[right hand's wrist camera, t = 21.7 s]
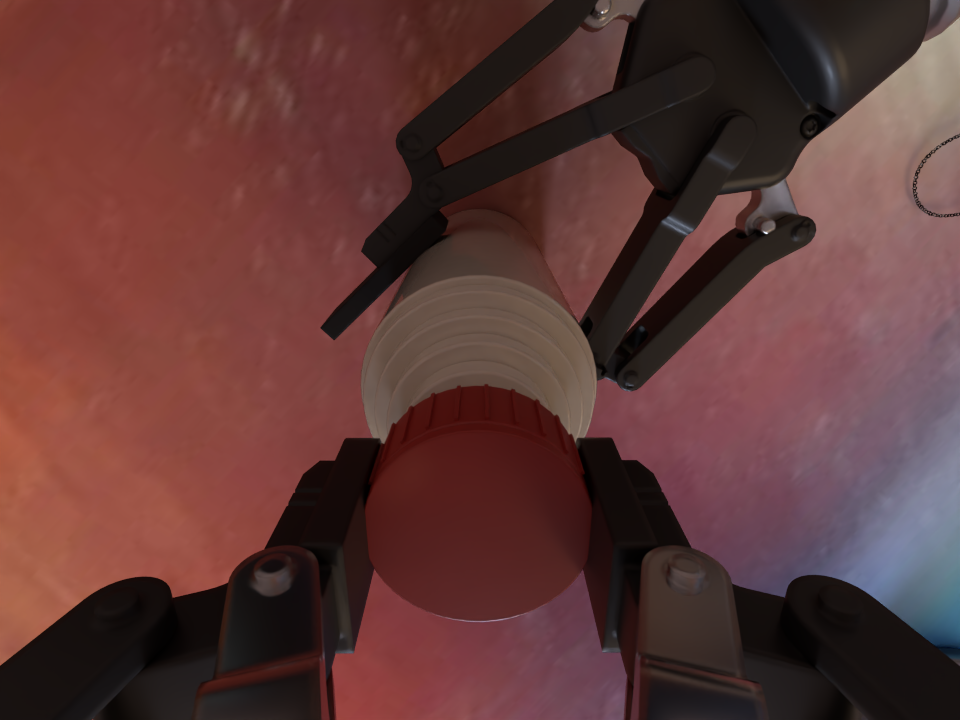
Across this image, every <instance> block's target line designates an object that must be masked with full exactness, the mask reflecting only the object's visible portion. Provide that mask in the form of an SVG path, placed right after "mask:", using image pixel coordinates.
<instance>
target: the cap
mask: <svg viewBox="0 0 960 720" xmlns="http://www.w3.org/2000/svg"><path fill="white" fill-rule="evenodd" d="M583 474H585V472H584V469H583V466H582V463H581V460H580V456H579V453H578V450H577V447H576V443H575V440H574V437H573V435H572V434H569V433H568V432H567V430H566V429H565V427H564V426H563V425H562V423H561V421H560V418H559V416H558V415H557V414H556V415H555V416H554V415H553V414H552V413H551V412H550V411H549V410H548V409H546V408H545V407H544V406H543V405H541V404H540V401H539V400H537V399H536V400H533V399H531V398H529V397H527V396H525V395H522V394H520V393H518V392H516V391H515V389H511V390H507V389H504V388H498V387H492V386H488V384H484V386H467V387H461V385H459V386H457V388H454V389H450V390H446V391H443V392H440V393H437V394H435V393H432V394H431V396H430V397H429V398H427V399H425V400H423V401H421V402H420V403H418V404H417V405H415V406H414V407H413V406H412V405H411V406H410V407H409V408H408V411H407V412H406V413H405V414H404V415H403V416H402V417H401V418H400V419H399V420H398V422H397V423H396V424H395V423H393V424H392V425H391V428H390V431H389V434H388V436H387V438H386V441H385V443H384V444H383V443H381V445H380V448H379V451H378V454H377V457H376V460H375V463H374V466H373V470H372V473H371V476H370V479H369V482H368V484H369V485H371V486H370V490H369V492H368V496H367V499H366V503H365V518H366V530H367V541H368V552H369V559H370V561H371V563H372V565H373V567H374V569H375V570H376V572H377V573H378V575H379V576H380V577H381V579H382V580H383V581H384V582H385V583H386V584H387V585H388V586H389V587H390V588H391V589H392V590H393V591H394V592H395V593H396V594H398V595H399V596H400V597H401V598H403V599H404V600H406V601H407V602H409V603H411V604H412V605H414V606H416V607H418V608H420V609H422V610H424V611H426V612H429V613H432V614H435V615H438V616H440V617H445V618H449V619H453V620H461V621H471V622H486V621H498V620H503V619H509V618H513V617H516V616H520V615H523V614H526V613H528V612H531V611H533V610H536V609H538V608H540V607H542V606H543V605H545V604H547V603H549V602H550V601H552V600H553V599H555V598H556V597H557V596H559V595H560V594H561V593H562V592H563V591H565V590H566V589H567V588H568V587H569V586H570V585H571V584H572V583H573V581H574V580H575V579H576V578H577V577H578V575H579V574H580V572H581V571H582V569H583V568H584V566H585V564H586V562H587V560H588V552H589V540H590V529H591V517H592V501H591V498H590V495H589V491H588V488H587V485H586V482H585V478H584V475H583Z"/></svg>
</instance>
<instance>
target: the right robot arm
mask: <svg viewBox="0 0 960 720" xmlns="http://www.w3.org/2000/svg"><path fill="white" fill-rule="evenodd" d="M380 445H381V439H380V438H346V439H345V440H344V442H343V444H342V446H341V449H340V451H339V453H338V455H337V458H336V460H335V461H319V462H318V463H317V464H315V465H314V466H313V467H312V468H310V469H309V470H308V471H307V472H305V473H304V474H303V476H302V478H301V480H300V482H299V483H298V485H297V487H296V489H295V493H293V495H292V497H291V499H290V501H289V504H288V506H287V507H286V508H285V510H284V512H283V514H282V516H281V518H280V520H279V522H278V524H277V526H276V528H275V530H274V532H273V533H272V535H271V537H270V539H269V541H268V543H267V545H266V547H265V549H264V550H262V551H259V552H257V553H255V554H253V555H251V556H250V557H248V558H246V559H245V560H244V561H242V562H241V563H240V564H239V565H238V566H237V567H236V568H235V570H234V571H233V572H232V574H231V576H230V578H229V582H228V583H226V584H224V585H221V586H219V587H216V588H212V589H209V590H205V591H200V592H196V593H192V594H188V595H183V596H179V597H175V598H173V597H172V593H171V590H170V587H169V586H168V585H167V583H166V582H164V581H163V580H160V579H158V578H154V577H134V578H129V579H125V580H121V581H118V582H115V583H113V584H110V585H108V586H106V587H104V588H101V589H100V590H98V591H96V592H94V593H93V594H91V595H90V596H88V597H87V598H86V599H84V600H83V601H82V602H80V603H79V604H78V605H77V606H75V607H74V608H73V609H72V610H70V611H69V612H68V613H66V614H65V615H64V616H63V617H61V618H60V619H59V620H58V621H56V622H55V623H54V624H53V625H51V626H50V627H49V628H47V629H46V630H45V631H44V632H42V633H41V634H40V635H39V636H37V637H36V638H35V639H34V640H32V641H31V642H30V643H28V644H27V645H26V646H25V647H23V648H22V649H21V650H20V651H18V652H17V653H16V654H15V655H13V656H12V657H11V658H9V659H8V660H7V661H6V662H4V663H3V664H2V665H1V666H0V720H92V719H93V720H336V706H335V690H334V680H333V673H332V664H333V661H334V657H335V654H336V653H354V649H355V645H356V641H357V637H358V633H359V629H360V625H361V621H362V617H363V612H364V608H365V604H366V600H367V596H368V592H369V588H370V584H371V580H372V575H373V571H374V567H373V565H372V563H371V561H370V559H369V552H368V541H367V530H366V518H365V503H366V499H367V496H368V492H369V490H370V486H371V485H369V484H368V482H369V479H370V476H371V473H372V470H373V466H374V463H375V460H376V457H377V454H378V451H379V448H380ZM576 447H577V450H578V453H579V456H580V460H581V463H582V466H583V469H584V472H585V474H583V475H584V478H585V482H586V485H587V488H588V491H589V495H590V498H591V501H592V517H591V529H590V540H589V552H588V560H587V562H586V564H585V566H584V568H583V571H584V575H585V579H586V584H587V588H588V592H589V596H590V600H591V605H592V609H593V613H594V617H595V622H596V626H597V630H598V634H599V639H600V643H601V647H602V651H603V652H621V656H622V660H623V663H624V667H625V671H626V674H627V680H626V690H625V706H624V720H861V718H862V715H864V716H865V717H866V718H867V719H868V720H960V666H959V665H958V664H957V663H956V662H954V661H953V660H952V659H951V658H949V657H948V656H947V655H945V654H944V653H943V652H942V651H940V650H939V649H938V648H937V647H935V646H934V645H933V644H932V643H930V642H929V641H928V640H926V639H925V638H924V637H923V636H921V635H920V634H919V633H918V632H916V631H915V630H914V629H913V628H911V627H910V626H909V625H907V624H906V623H905V622H904V621H902V620H901V619H900V618H899V617H897V616H896V615H895V614H894V613H892V612H891V611H890V610H888V609H887V608H886V607H885V606H883V605H882V604H881V603H880V602H878V601H877V600H876V599H875V598H873V597H872V596H870V595H869V594H868V593H866V592H865V591H863V590H861V589H860V588H858V587H856V586H854V585H852V584H850V583H847V582H844V581H842V580H839V579H836V578H832V577H827V576H821V575H807V576H801V577H799V578H796V579H795V580H793V581H792V582H791V583H790V584H789V586H788V588H787V592H786V596H785V598H784V597H780V596H776V595H772V594H767V593H763V592H759V591H754V590H750V589H746V588H743V587H739V586H737V585H734V584H732V582H731V578H730V576H729V574H728V572H727V571H726V570H725V568H724V567H723V566H722V565H721V564H720V563H719V562H718V561H716V560H715V559H714V558H712V557H710V556H709V555H707V554H705V553H703V552H701V551H698V550H696V549H693V548H691V546H690V544H689V542H688V540H687V538H686V536H685V534H684V532H683V530H682V528H681V526H680V524H679V522H678V521H677V519H676V517H675V515H674V513H673V511H672V509H671V507H670V506H668V501H667V499H666V497H665V495H664V493H663V492H662V491H661V487H660V485H659V483H658V481H657V479H656V478H655V476H654V474H653V473H652V472H651V471H650V470H648V469H647V468H646V467H645V466H643V465H642V464H641V463H640V462H638V461H637V460H621V457H620V455H619V453H618V450H617V448H616V446H615V444H614V441H613V439H612V438H577V439H576Z"/></svg>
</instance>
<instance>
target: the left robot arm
mask: <svg viewBox="0 0 960 720" xmlns="http://www.w3.org/2000/svg"><path fill="white" fill-rule="evenodd" d="M959 17H960V0H554V1H553V2H552V3H550V4H549V5H548V6H547V7H546V8H545V9H543V10H542V11H541V12H540V13H539V14H537V15H536V16H535V17H534V18H533V19H531V20H530V21H529V22H528V23H527V24H526V25H524V26H523V27H522V28H521V29H520V30H518V31H517V32H516V33H515V34H514V35H513V36H511V37H510V38H509V39H508V40H507V41H505V42H504V43H503V44H502V45H501V46H499V47H498V48H497V49H496V50H495V51H494V52H492V53H491V54H490V55H489V56H488V57H486V58H485V59H484V60H483V61H482V62H481V63H479V64H478V65H477V66H476V67H475V68H473V69H472V70H471V71H470V72H469V73H467V74H466V75H465V76H464V77H463V78H462V79H460V80H459V81H458V82H457V83H456V84H454V85H453V86H452V87H451V88H450V89H448V90H447V91H446V92H445V93H444V94H443V95H441V96H440V97H439V98H438V99H437V100H435V101H434V102H433V103H432V104H431V105H430V106H428V107H427V108H426V109H425V110H424V111H422V112H421V113H420V114H419V115H418V116H416V117H415V118H414V119H413V120H412V121H411V122H409V123H408V124H407V125H406V126H405V127H403V128H402V129H401V130H400V132H399V133H398V135H397V138H396V147H397V149H398V151H399V153H400V154H401V155H402V157H403V159H404V161H405V163H406V166H407V168H408V170H409V172H410V175H411V178H412V188H411V191H410V193H409V195H408V196H407V198H406V199H405V200H404V201H403V202H402V203H401V204H400V205H399V206H398V207H397V208H396V209H395V210H394V211H393V212H392V213H391V214H390V215H389V216H388V217H387V218H386V219H385V220H384V221H383V222H382V223H381V224H380V225H379V226H378V227H377V228H376V229H375V230H374V231H373V232H372V233H371V235H370V236H369V237H368V238H367V239H366V240H365V243H364V246H363V248H362V251H361V252H362V253H363V254H364V255H365V256H366V257H367V258H368V259H369V260H370V261H372V262H373V263H374V264H375V265H376V266H377V268H376V269H375V270H374V271H373V272H372V273H371V274H370V275H369V276H368V277H367V278H366V279H365V280H364V281H363V282H362V283H361V284H360V285H359V286H358V287H357V288H356V289H355V290H354V291H353V292H352V293H351V294H350V295H349V296H348V297H347V298H346V299H345V300H344V301H343V302H342V303H341V304H340V305H339V306H338V307H337V308H336V309H335V310H334V311H333V313H332V314H331V315H330V316H329V318H328V319H327V320H326V321H325V323H324V324H323V325H322V326H321V329H322V330H323V331H324V332H325V333H327V334H328V335H329V336H330V337H331V338H332V339H333V340H335V339H336V338H337V337H338V336H339V335H340V334H341V333H342V332H343V331H344V330H345V329H346V328H347V327H348V326H349V325H350V324H351V323H352V322H353V321H354V320H355V319H357V318H358V317H359V316H360V315H361V314H362V313H363V312H364V311H365V310H366V309H367V308H368V307H369V306H370V305H371V304H372V303H373V302H374V301H375V300H376V299H377V298H378V297H379V296H380V295H381V294H382V293H383V292H384V291H385V290H386V289H387V288H388V287H389V286H390V285H391V284H392V283H393V282H394V281H395V280H396V279H397V278H398V277H399V276H400V275H401V274H402V273H403V272H404V271H405V270H406V269H407V268H409V267H410V266H411V265H412V264H413V263H414V262H415V261H416V260H417V259H418V257H419V256H420V255H422V254H423V253H424V252H425V251H426V250H427V249H428V248H429V247H430V246H431V245H432V244H433V243H434V242H435V241H436V240H437V239H438V238H439V237H440V236H441V235H442V234H443V233H444V232H445V231H446V229H447V225H448V222H449V220H448V219H447V218H446V217H445V216H444V215H443V214H442V213H441V212H440V211H439V210H440V209H441V208H442V207H444V206H446V205H448V204H450V203H453V202H455V201H457V200H459V199H461V198H464V197H466V196H468V195H470V194H473V193H475V192H477V191H479V190H482V189H484V188H486V187H488V186H491V185H493V184H495V183H497V182H500V181H502V180H504V179H506V178H509V177H511V176H513V175H515V174H517V173H520V172H522V171H524V170H526V169H529V168H531V167H533V166H535V165H538V164H540V163H542V162H544V161H547V160H549V159H551V158H553V157H556V156H558V155H560V154H562V153H565V152H567V151H569V150H571V149H573V148H576V147H578V146H580V145H582V144H585V143H587V142H589V141H591V140H594V139H597V138H600V137H603V136H605V135H608V134H610V133H611V134H612V135H613V136H614V137H615V139H616V140H617V141H618V142H619V144H620V145H621V146H623V147H624V148H625V149H627V150H628V151H630V152H631V153H633V154H634V155H635V156H637V158H638V160H639V162H640V165H641V167H642V170H643V172H644V174H645V176H646V177H647V179H648V180H649V181H650V182H651V184H652V185H653V186H654V189H653V191H652V193H651V194H650V196H649V198H648V199H647V201H646V203H645V206H644V212H643V215H642V217H641V218H640V220H639V222H638V224H637V225H636V227H635V229H634V230H633V232H632V234H631V235H630V237H629V239H628V241H627V242H626V244H625V246H624V247H623V249H622V251H621V253H620V254H619V256H618V258H617V259H616V261H615V263H614V265H613V266H612V268H611V270H610V271H609V273H608V275H607V277H606V278H605V280H604V282H603V283H602V285H601V287H600V289H599V290H598V292H597V294H596V295H595V297H594V299H593V301H592V302H591V304H590V306H589V307H588V309H587V311H586V312H585V314H584V316H583V318H582V319H581V321H580V323H579V325H580V327H581V329H582V331H583V332H584V334H585V336H586V338H587V340H588V342H589V345H590V348H591V350H592V353H593V357H594V361H595V366H596V374H597V380H601V379H603V378H607V379H609V380H611V381H613V382H615V383H617V384H618V385H619V386H620V388H621V389H623V390H625V391H634V390H637V389H638V388H640V387H641V386H642V385H643V384H644V383H645V382H646V381H647V380H648V379H649V378H650V377H651V376H652V375H653V374H654V373H656V372H657V371H658V370H659V369H660V368H661V367H662V366H663V365H664V364H665V363H666V362H667V361H668V360H669V359H670V358H671V357H672V356H673V355H674V354H675V353H676V352H677V351H678V350H679V349H680V348H681V347H682V346H683V345H684V344H685V343H686V342H688V341H689V340H690V339H691V338H692V337H693V336H694V335H695V334H696V333H697V332H698V331H699V330H700V329H701V328H702V327H703V326H704V325H705V324H706V323H707V322H708V321H709V320H710V319H711V318H712V317H713V316H714V315H715V314H716V313H717V312H718V311H720V310H721V309H722V308H723V307H724V306H725V305H726V304H727V303H728V302H729V301H730V300H731V299H732V298H733V297H734V296H735V295H736V294H737V293H738V292H739V291H740V290H741V289H742V288H743V287H744V286H745V285H746V284H747V283H748V282H749V281H750V280H752V279H753V278H754V277H755V276H756V275H757V274H758V273H759V272H760V271H761V270H762V269H763V268H764V267H765V266H767V265H769V264H771V263H773V262H775V261H777V260H779V259H780V258H782V257H784V256H786V255H788V254H790V253H792V252H794V251H796V250H798V249H800V248H802V247H804V246H805V245H807V244H808V243H809V242H811V240H812V239H813V238H814V236H815V232H816V225H815V223H814V221H813V220H812V219H810V218H808V217H805V216H801V215H799V214H798V212H797V210H796V207H795V204H794V201H793V199H792V196H791V193H790V190H789V188H788V185H787V182H786V179H785V178H786V177H787V176H788V175H789V173H790V172H791V170H792V169H793V167H794V165H795V163H796V161H797V159H798V157H799V155H800V153H801V152H802V150H803V149H804V148H805V146H806V145H807V144H808V143H809V142H810V141H811V140H812V139H813V138H814V137H816V136H817V135H818V134H820V133H821V132H822V131H824V130H825V129H826V128H828V127H829V126H830V125H832V124H833V123H834V122H836V121H837V120H838V119H839V118H840V117H842V116H843V115H844V114H845V113H846V112H848V111H849V110H850V109H851V108H852V107H853V106H855V105H856V104H857V103H858V102H859V101H861V100H862V99H863V98H864V97H865V96H866V95H868V94H869V93H870V92H871V91H872V90H874V89H875V88H876V87H877V86H878V85H879V84H881V83H882V82H883V81H884V80H885V79H887V78H888V77H889V76H890V75H891V74H892V73H894V72H895V71H896V70H897V69H898V68H900V67H901V66H902V65H903V64H904V63H906V62H907V61H908V60H909V59H910V58H911V57H912V56H913V55H914V54H915V53H916V52H917V50H918V49H919V47H920V46H921V44H922V42H924V41H927V40H929V39H931V38H933V37H935V36H937V35H939V34H941V33H942V32H943V31H944V30H945V29H947V28H948V27H949V26H950V25H951V24H952V23H954V22H955V21H956V20H957V19H958V18H959ZM616 19H622V20H625V21H627V22H629V26H628V30H627V34H626V38H625V42H624V46H623V50H622V54H621V58H620V62H619V66H618V70H617V74H616V78H615V82H614V86H613V90H612V91H610V92H608V93H606V94H603V95H601V96H599V97H597V98H595V99H592V100H590V101H588V102H586V103H584V104H582V105H579V106H577V107H575V108H573V109H571V110H569V111H567V112H565V113H563V114H561V115H558V116H556V117H554V118H552V119H550V120H547V121H545V122H543V123H541V124H539V125H537V126H534V127H532V128H530V129H528V130H526V131H523V132H521V133H519V134H517V135H515V136H512V137H510V138H508V139H506V140H504V141H501V142H499V143H497V144H495V145H493V146H491V147H488V148H486V149H484V150H482V151H480V152H477V153H475V154H473V155H471V156H469V157H466V158H464V159H462V160H460V161H458V162H456V163H453V164H451V165H449V166H447V167H444V165H443V163H442V160H441V158H440V156H439V154H438V151H437V149H436V147H438V146H439V145H440V144H441V143H442V142H444V141H445V140H446V139H447V138H449V137H450V136H451V135H452V134H453V133H455V132H456V131H457V130H458V129H460V128H461V127H462V126H463V125H464V124H466V123H467V122H468V121H469V120H471V119H472V118H473V117H474V116H475V115H477V114H478V113H479V112H480V111H481V110H483V109H484V108H485V107H486V106H488V105H489V104H490V103H491V102H492V101H494V100H495V99H496V98H497V97H499V96H500V95H501V94H502V93H503V92H505V91H506V90H507V89H508V88H510V87H511V86H512V85H513V84H514V83H516V82H517V81H518V80H519V79H521V78H522V77H523V76H524V75H525V74H527V73H528V72H529V71H530V70H532V69H533V68H534V67H535V66H536V65H538V64H539V63H540V62H541V61H542V60H544V59H545V58H546V57H547V56H549V55H550V54H551V53H552V52H553V51H555V50H556V49H557V48H558V47H559V46H560V45H561V44H562V43H564V42H565V41H566V40H567V39H568V38H569V37H570V36H571V35H572V34H573V33H574V32H575V31H576V30H577V28H578V27H579V26H580V27H581V28H583V29H584V30H586V31H588V32H597V31H599V30H601V29H603V28H604V27H605V26H606V25H607V24H609V23H610V22H611V21H613V20H616ZM746 191H751V192H752V195H751V200H750V202H749V204H748V205H747V207H745V208H744V209H743V210H742V211H741V212H740V213H739V214H738V215H737V217H736V228H734V229H732V230H731V231H729V232H728V233H726V234H725V235H724V236H722V237H721V238H720V239H719V240H718V241H717V242H716V243H715V244H713V245H712V246H711V247H710V248H709V249H708V250H707V251H706V252H705V253H704V254H703V255H702V256H701V258H700V259H699V260H698V261H697V262H696V263H695V264H694V265H693V266H692V267H691V268H690V269H689V270H688V271H687V272H686V273H685V274H684V275H683V276H682V277H681V278H680V279H679V280H678V281H677V282H676V283H675V284H674V285H673V286H672V287H671V288H670V289H669V290H668V291H667V292H666V293H665V294H664V295H663V296H662V297H661V298H660V299H659V300H658V301H657V302H656V303H655V304H654V305H653V306H652V307H651V308H650V309H649V310H648V311H647V312H646V313H645V314H644V315H643V316H642V317H641V318H640V319H639V320H638V322H637V323H636V324H635V325H634V326H633V327H632V328H631V329H630V330H629V331H628V332H627V330H628V329H629V327H630V325H631V324H632V322H633V321H634V319H635V317H636V316H637V314H638V313H639V311H640V309H641V308H642V306H643V304H644V303H645V301H646V300H647V298H648V296H649V295H650V293H651V292H652V290H653V288H654V287H655V285H656V283H657V282H658V280H659V279H660V277H661V275H662V274H663V272H664V271H665V269H666V267H667V266H668V264H669V263H670V261H671V259H672V258H673V256H674V254H675V253H676V251H677V250H678V248H679V246H680V245H681V243H682V242H683V240H684V239H685V237H686V236H687V235H688V234H690V233H691V232H693V231H694V230H695V229H696V228H697V226H698V225H699V224H700V222H701V220H702V219H703V217H704V216H705V214H706V212H707V211H708V209H709V208H710V206H711V204H712V203H713V201H714V200H715V198H716V196H717V195H724V194H731V193H738V192H746ZM626 332H627V333H626ZM625 333H626V334H625ZM938 649H939V650H940V651H942V652H943V653H944V654H945V655H947V656H948V657H949V658H951V659H952V660H953V661H954V662H956V663H957V664H958V665H959V666H960V649H954V648H938ZM861 720H868V719H867V718H866V717H865V716H864V715H862V718H861Z"/></svg>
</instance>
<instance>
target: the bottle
mask: <svg viewBox="0 0 960 720" xmlns="http://www.w3.org/2000/svg"><path fill="white" fill-rule="evenodd" d="M447 219H448V220H449V222H448V225H447V229H446V231H445V232H444V233H443V234H442V235H441V236H440V237H439V238H438V239H437V240H436V241H435V242H434V243H433V244H432V245H431V246H430V247H429V248H428V249H427V250H426V251H425V252H424V253H423V254H422V255H420V256H419V257H418V259H417V260H416V261H415V262H414V263H413V264H412V265H411V266H410V267H409V269H408V270H407V272H406V274H405V276H404V278H403V280H402V282H401V284H400V285H399V287H398V289H397V291H396V293H395V295H394V297H393V298H392V300H391V302H390V304H389V306H388V308H387V310H386V312H385V313H384V315H383V317H382V319H381V321H380V323H379V325H378V326H377V328H376V330H375V332H374V334H373V336H372V338H371V340H370V342H369V344H368V347H367V350H366V353H365V355H364V359H363V365H362V370H361V394H362V401H363V406H364V411H365V415H366V420H367V424H368V426H369V429H370V431H371V434H372V436H373V438H380V439H381V443H383V444H384V443H385V441H386V438H387V436H388V434H389V431H390V428H391V425H392V424H393V423H395V424H396V423H397V422H398V420H399V419H400V418H401V417H402V416H403V415H404V414H405V413H406V412H407V411H408V408H409V407H410V406H411V405H412V406H413V407H414V406H415V405H417V404H418V403H420V402H421V401H423V400H425V399H427V398H429V397H430V396H431V394H432V393H435V394H437V393H440V392H443V391H446V390H450V389H454V388H457V386H459V385H461V387H467V386H484V384H488V386H492V387H498V388H504V389H507V390H511V389H515V391H516V392H518V393H520V394H522V395H525V396H527V397H529V398H531V399H533V400H536V399H537V400H539V401H540V404H541V405H543V406H544V407H545V408H546V409H548V410H549V411H550V412H551V413H552V414H553V415H554V416H555V415H556V414H557V415H558V416H559V418H560V421H561V423H562V425H563V426H564V427H565V429H566V430H567V432H568V433H569V434H572V435H573V437H574V440H575V443H576V439H577V438H584V437H585V436H586V433H587V431H588V428H589V425H590V423H591V419H592V414H593V409H594V405H595V400H596V392H597V374H596V366H595V361H594V357H593V353H592V350H591V348H590V345H589V342H588V340H587V338H586V336H585V334H584V332H583V331H582V329H581V327H580V325H579V323H578V321H577V319H576V317H575V316H574V314H573V312H572V310H571V308H570V306H569V304H568V302H567V301H566V299H565V297H564V295H563V293H562V291H561V289H560V287H559V285H558V284H557V282H556V280H555V278H554V276H553V274H552V272H551V270H550V269H549V267H548V265H547V263H546V261H545V259H544V257H543V255H542V254H541V252H540V250H539V248H538V246H537V244H536V242H535V241H534V239H533V237H532V236H531V235H530V233H529V232H528V231H527V230H526V229H525V228H524V227H523V226H522V225H521V224H520V223H519V222H517V221H516V220H515V219H513V218H511V217H509V216H508V215H505V214H503V213H500V212H497V211H493V210H487V209H471V210H465V211H461V212H458V213H455V214H453V215H451V216H449V217H447Z"/></svg>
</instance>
